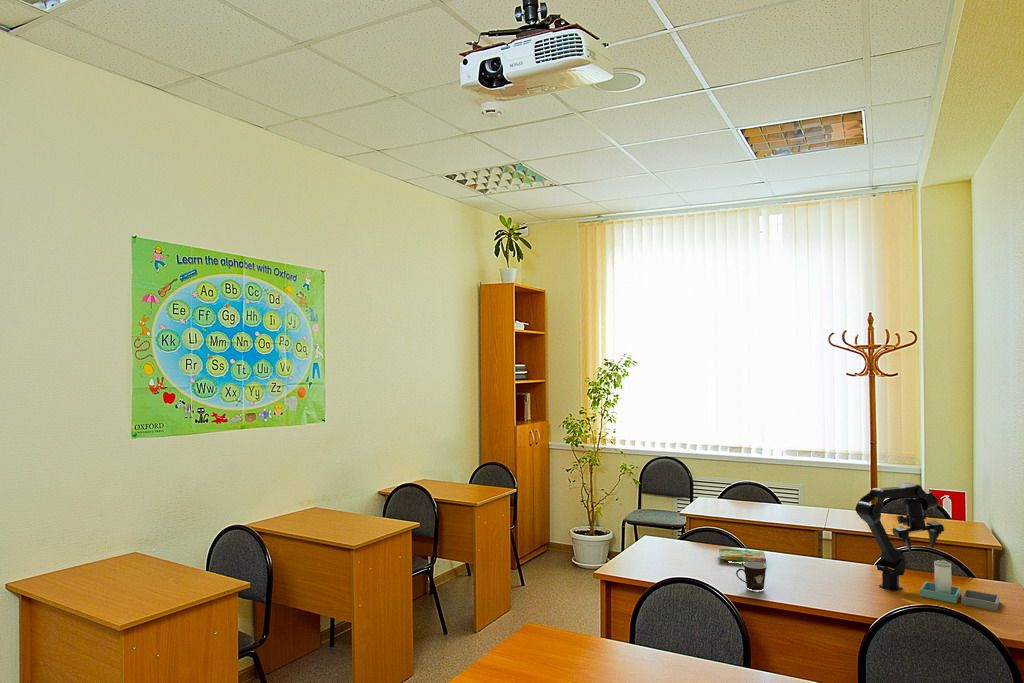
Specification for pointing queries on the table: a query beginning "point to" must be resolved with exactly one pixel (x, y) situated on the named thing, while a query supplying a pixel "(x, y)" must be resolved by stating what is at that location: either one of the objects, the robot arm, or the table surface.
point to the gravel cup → (943, 577)
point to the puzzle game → (742, 555)
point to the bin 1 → (929, 592)
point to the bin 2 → (980, 599)
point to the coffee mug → (754, 575)
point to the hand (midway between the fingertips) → (920, 549)
